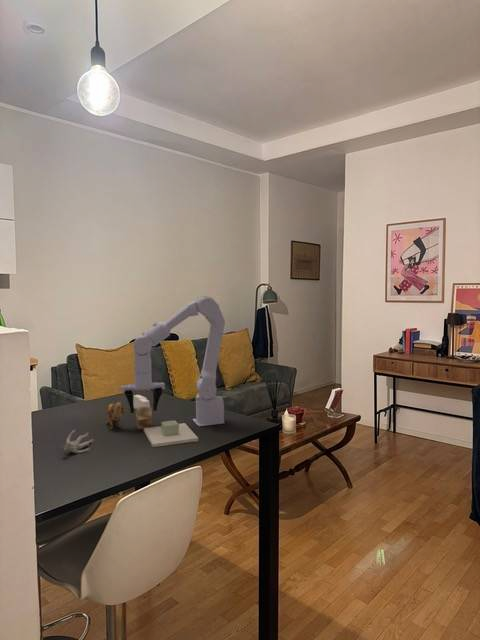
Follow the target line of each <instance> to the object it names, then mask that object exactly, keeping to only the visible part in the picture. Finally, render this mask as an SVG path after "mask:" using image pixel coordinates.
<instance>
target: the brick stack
mask: <svg viewBox="0 0 480 640" xmlns="http://www.w3.org/2000/svg"><path fill="white" fill-rule="evenodd" d="M135 419H136V420H135V421H136V422H135V423H136V425H135V426H136V427H137V429H138V430H144V428H150V427H153V408H152V407H151V405H150V406H143V407H136V409H135Z"/></svg>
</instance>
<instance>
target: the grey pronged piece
mask: <svg viewBox="0 0 480 640" xmlns="http://www.w3.org/2000/svg"><path fill="white" fill-rule="evenodd" d="M75 432H76V429H73V430H71V432H70V433H69V434H68V437H67V438H66V440H65V441H66V442H65V444H64V445H62V446H61V448H62V450H64V452H65V453H68V451H70V452H71V453H74V454H83V453H87V452H90V450H91V448H89V447H88V448H85V447H87V446H89V444H91V443H93V442H94V439H93V438H92V439H90V440H88V441H84V442H82V443H81V441H82V440H83V439H85V438H87V437H88V436H89V432H86V433H84V435H79V436H78V437H77V439H76V440H71V438H72V436H73V434H75ZM83 448H85V449H83Z"/></svg>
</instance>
